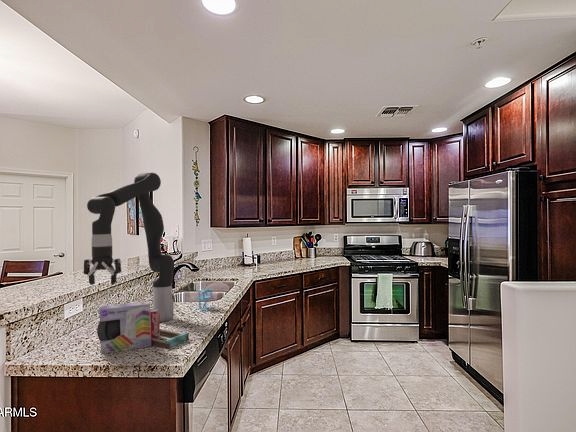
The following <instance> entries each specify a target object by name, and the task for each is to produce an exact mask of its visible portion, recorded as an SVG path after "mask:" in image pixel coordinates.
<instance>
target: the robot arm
mask: <svg viewBox="0 0 576 432" xmlns="http://www.w3.org/2000/svg"><path fill="white" fill-rule="evenodd" d="M133 179H134V180H133V182H132V183H130V184H126V185H123V186H120V187H117V188H116V189H113V190H110V191H109V192H106V193H102V194H98V195H96V196H92V197H91V198H90V199H89V200H88V202H87V203H86V204H87V205H86V208H87V210H88V212H90V213H91V214H94V215H99V217H98V219H95V220H93V221H92V222H91V226H92V227H91V259H90V258H88V259H84V260H83V274H84V275H87V276H88V283H89V285H90V286H92V285H95V283H96V282H95V281H96V278H95V275H96V272H97V271H101V270H103V271H105V270H106V271H107V272H109V274H110V282H111V283H110V284H111V285H115V284H116V283H117V274H120V273H122V263H121V258H113V236H112V222H113V219H114V215H115V212H116V207H119V206H121V205H124V204H125V203H127V202H129V201H131V200H134V199H135V198H137V199H138V202H139V206H140V212H141V216H142V223H143V227H144V232H145V238H146V246H147V256H148V257H147V258H148V265H149V268H150V270H151V271H152V272H154V273H158V274H159V275H158V278H157V279H154V280H153V281H152V309H158V311H159V313H160V322H169V321H171V320H172V319H174V299H173V287H172V286H173V285H172V284H173V280H174V272H175V271H174V270H175V261H174V259H173V256H171V255H170V254H162V252H161V240H162V237H163V235H164V231H165V227H164V226H165V225H164V221H163V216H162V214H161V212H160V211H159V209H158V208H157V207H156V206H155V204H154V203H153V201H152V199H151V196H150V195H151V194H150V192H155V191H157V190H159V188H161V184H162V180H161V178H160V176H159V175H158V174H157V173H155V172H143V173H142V172H141V173H137V174H136V175H135V177H134V178H133ZM91 264H92V267H91ZM112 264H114V266H113V265H112Z"/></svg>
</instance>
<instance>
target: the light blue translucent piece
mask: <svg viewBox="0 0 576 432" xmlns="http://www.w3.org/2000/svg"><path fill="white" fill-rule="evenodd" d="M201 293H202V296H201ZM208 293H210V294H209V295H208ZM197 294H198V296H196V298H197V301H198V309H199V308H200V309H201V310H202V311H205V312H207V311H206V310H210V309H214V308H215V307H214V306H206V305H207V302H208V301H209V300H210V299H211V300H212V299H214V297H213V296H212V294H213V290H212V289H211V288H206V289H199V290H197ZM201 301H205V302H204V304H203V305H202V303H201ZM203 307H205V308H203ZM207 308H210V309H207ZM200 309H199V310H200ZM201 310H200V311H201ZM214 310H215V309H214ZM202 311H201V312H202ZM210 311H211V310H210Z"/></svg>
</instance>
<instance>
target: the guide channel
mask: <svg viewBox="0 0 576 432" xmlns="http://www.w3.org/2000/svg"><path fill="white" fill-rule="evenodd" d="M160 336H161V337H166V338H168V339H165V340H162V339H157V338H156V339H153V338H151V346H154V347H159V348H163V349H165V350H166V349H170V347H171V348H172V347H175V346H178V345H180V344H183V343H185V342H187V340H188V341H189V340H190V333H189V332H187V331H186V332H183V333H179V332H175V331H171V330H166V329H160ZM184 341H185V342H184ZM182 342H183V343H182ZM177 344H178V345H177Z"/></svg>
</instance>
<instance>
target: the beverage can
mask: <svg viewBox="0 0 576 432" xmlns="http://www.w3.org/2000/svg"><path fill="white" fill-rule="evenodd" d="M150 318H151V338H153V339H157V338H159V337H160V336H161V335H160V313H159V311H158V309H153V308H150Z"/></svg>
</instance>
